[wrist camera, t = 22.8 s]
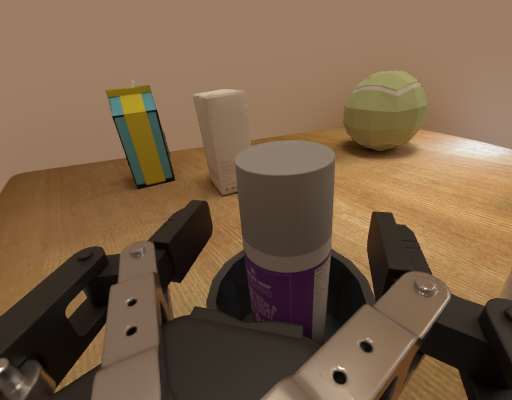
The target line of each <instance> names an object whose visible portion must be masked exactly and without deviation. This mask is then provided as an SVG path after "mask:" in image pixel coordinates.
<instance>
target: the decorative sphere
mask: <svg viewBox="0 0 512 400" xmlns="http://www.w3.org/2000/svg"><path fill="white" fill-rule="evenodd" d="M428 106H429V104H428V101H427V98H426V95H425V92H424V90H423V87H422V86H421V85H420V83H419V81H418V80H416V79H415V78H413V77H412V76H411V75H409V74H408V73H406V72H405V71H383V72H379V73H374V74H373V75H371V76H370V77H368V78H366V79H365V80H363V81H362V82H360V83H359V84H358V86H356V88H355V89H354V90H353V92H352V93H351V95H350V97H349V99H348V101H347V103H346V105H345V107H344V119H343V123H344V126H345V128H346V131H347V134H349V135H350V136H351V138H352V139H353V140H354V141H356V142H357V143H358V144H359V145H361V146H363V147H364V148H368V149H372V150H377V151H384V150H387V149H391V148H394V147H397V146H400V145H402V144H404V143H406V142H407V141H409V140H411V138H412V137H413V136H414V135H415V134H416V133H417V132H418V131H419V130H420V128H421V127H422V126H423V125H424V122H425V118H426V114H427V109H428Z"/></svg>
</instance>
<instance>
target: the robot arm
mask: <svg viewBox="0 0 512 400" xmlns="http://www.w3.org/2000/svg"><path fill="white" fill-rule="evenodd" d="M212 230H213V226H212V220H211V215H210V210H209V205H208V203H207V201H199V200H192V201H190V202H189V203H188V205H187V206H186V207H185V208H184V209H181V210H179V211H177V212H176V213H174V214H173V215H172V216H171V217H170V218H169V219H168V221H166V222H165V223H164V224H163V226H161V227H160V228H159V229H158V230H157V231H156V232H155V234H154V235H153V236H152V237H151V238H150V239H149V240H148V241H140V242H136V243H133V244H131V245H129V246H128V247H126V248H125V249H124V250H123V251H122V252H121V254H115V255H107V256H106V254H105V252H104V250H103V248H102V247H98V246H94V247H89V248H86V249H83V250H81V251H79V252H77V253H76V254H74V255H73V256H72V257H70V258H69V259H68V260H67V261H66V262H65V263H63V264H62V265H61V266H60V267H59V268H57V269H56V270H55V271H54V272H53V273H52V274H50V275H49V276H48V277H47V278H46V279H45V280H43V281H42V282H41V283H40V284H39V285H37V286H36V287H35V288H34V289H33V290H32V291H30V292H29V293H28V294H27V295H26V296H24V297H23V298H22V299H21V300H20V301H19V302H17V303H16V304H15V305H14V306H13V307H11V308H10V309H9V310H8V311H7V312H6V313H4V314H3V315H2V316H1V317H0V400H397V399H398V397H399V395H400V394H401V392H402V390H403V389H404V387H405V386H406V384H407V383H408V381H409V380H410V378H411V377H412V375H413V374H414V372H415V371H416V369H417V368H418V366H419V365H420V363H421V362H422V360H423V359H424V357H425V356H426V354H427V355H429V356H431V357H433V358H435V359H437V360H440V361H442V362H444V363H446V364H448V365H450V366H453V367H455V368H457V369H458V370H459V373H460V376H461V379H462V382H463V385H464V388H465V391H466V394H467V397H468V400H512V300H509V299H503V298H495V299H491V300H489V301H488V302H487V303H486V305H485V306H482V305H480V304H477V303H474V302H471V301H468V300H465V299H462V298H459V297H457V296H455V295H453V294H451V292H450V290H449V288H448V287H447V286H446V284H445V283H443V282H442V281H441V280H440V279H438V278H436V277H435V276H433V275H432V273H431V271H430V268H429V266H428V264H427V262H426V259H425V257H424V255H423V253H422V250H420V249H421V248H420V246H419V244H418V243H417V239H416V237H415V235H414V233H413V232H412V231H411V230H410V229H409V228H408V227H407V226H406V225H399V224H396V222H395V219H394V217H393V214H392V213H390V212H373V213H372V216H371V222H370V228H369V234H368V241H367V253H368V259H369V265H370V271H371V277H372V282H373V288H374V294H375V300H376V303H375V304H374V305H373V306H372V305H371V304H369V303H366V304H364V305H363V306H362V307H361V308H360V309H359V310H358V311H357V312H356V313H355V314H354V315H353V316H352V317H351V318H350V319H349V320H348V321H347V322H346V323H345V324H344V325H343V326H342V327H341V328H340V329H339V330H338V331H337V332H336V333H335V334H334V335H333V336H332V337H331V338H330V339H329V340H328V341H327V342H326V343H325V344H324V345H323V346H322V347H321V346H320V345H318V344H317V343H316V342H314V341H312V340H311V339H309V338H307V337H305V336H303V326H302V325H296V324H291V323H285V322H279V321H258V322H242V321H240V320H238V319H236V318H233V317H231V316H229V315H227V314H225V313H223V312H221V311H218V310H212V309H207V308H201V307H196V306H195V307H194V309H193V311H192V313H191V315H186V316H181V317H178V318H175V319H174V317H173V310H172V303H171V297H170V290H169V287H168V285H169V283H170V282H178V283H181V282H182V280H183V279H184V277H185V276H186V274H187V272H188V271H189V269H190V268H191V266H192V265H193V263H194V262H195V260H196V259H197V257H198V256H199V254H200V253H201V251H202V249H203V248H204V246H205V245H206V243H207V242H208V240H209V239H210V237H211V235H212ZM82 290H83V291H84V293H85V294H86V296H87V299H86V300H85V301H84V302H83V303H82V304H81V305H80V306H79V307H78V308H77V310H76V311H75V312H74V313H73V314H72V315H71V316H70V317H69V318H68V319H67V317H66V315H65V311H66V308H67V306H68V304H69V303H70V302H71V301H72V300H73V299H74V298H75V297H76V296H77V295H78V294H79V293H80V292H81V291H82ZM105 323H106V328H105V337H104V345H103V353H102V362H101V364H100V365H98V366H97V367H95V368H94V369H92V370H90V371H89V372H87V373H86V374H84V375H83V376H81V377H80V378H78V379H76V380H75V381H73V382H72V383H70V384H69V385H67V386H66V387H64V388H63V389H61V390H59V391H58V392H56V393H55V389H56V388H57V386H58V385H59V384H60V382H61V381H62V380H63V378H64V377H65V376H66V374H67V373H68V372H69V371H70V369H71V368H72V367H73V365H74V364H75V363H76V361H77V360H78V359H79V357H80V356H81V355H82V354H83V352H84V351H85V350H86V348H87V347H88V346H89V344H90V343H91V342H92V340H93V339H94V338H95V337H96V335H97V334H98V333H99V331H100V330H101V329H102V327H103V326H104V325H105ZM54 393H55V394H54Z"/></svg>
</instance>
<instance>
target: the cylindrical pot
mask: <svg viewBox="0 0 512 400" xmlns="http://www.w3.org/2000/svg"><path fill="white" fill-rule="evenodd" d="M366 303H369V304H371V305H372V306H373V305H374V304H375V303H376V300H375V297H374V295H373V292H372V290H371V287H370V285H369V282H368V280H367V278H366V277H365V276H364V275H363V274H362V273H361V272H360V271H359V269H358V268H357V267H356V266H355V265H354V264H353V263H352V262H351V261H350V260H349V259H347V258H345V257H344V256H342V255H341V254H339V253H337V252H336V251H334V250H333V249H331V258H330V270H329V283H328V295H327V308H326V320H325V333H324V344H325V343H326V342H327V341H328V340H329V339H330V338H331V337H332V336H333V335H334V334H335V333H336V332H337V331H338V330H339V329H340V328H341V327H342V326H343V325H344V324H345V323H346V322H347V321H348V320H349V319H350V318H351V317H352V316H353V315H354V314H355V313H356V312H357V311H358V310H359V309H360V308H361V307H362V306H363V305H364V304H366ZM206 305H207V309H212V310H218V311H221V312H223V313H225V314H227V315H229V316H231V317H233V318H236V319H238V320H240V321H242V322H254V320H253V313H252V306H251V299H250V292H249V284H248V277H247V270H246V263H245V256H244V250H242V251H241V252H239V253H238V254H237V255H235V256H234V257H232V258H231V259H230V260H228V261H227V262H226V263H225V264H224V265H223V267H222V268H221V269H220V271H219V272H218V273H217V275H216V276H215V277H214V278H213V280H212V284H211V287H210V290H209V294H208V297H207V301H206Z"/></svg>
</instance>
